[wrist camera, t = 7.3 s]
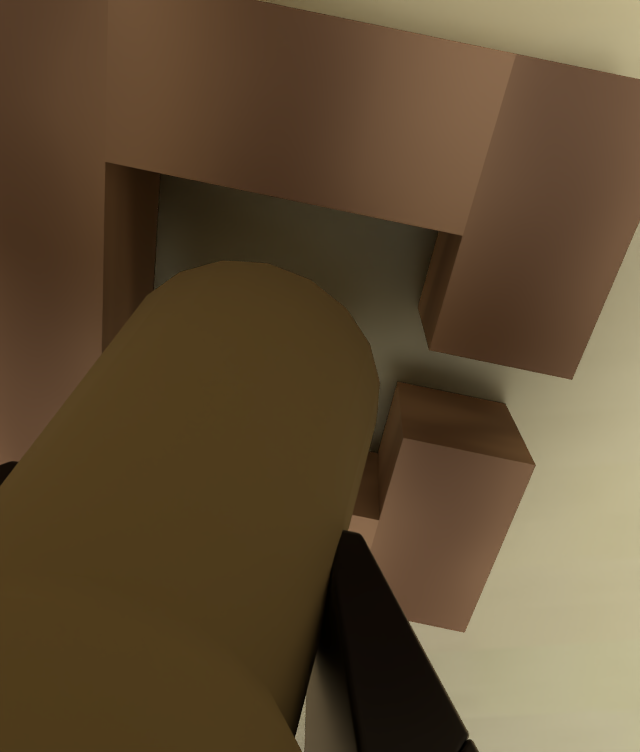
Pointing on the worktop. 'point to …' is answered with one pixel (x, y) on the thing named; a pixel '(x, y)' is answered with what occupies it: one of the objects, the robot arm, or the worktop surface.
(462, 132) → the socket block
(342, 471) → the cork
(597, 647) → the worktop surface
